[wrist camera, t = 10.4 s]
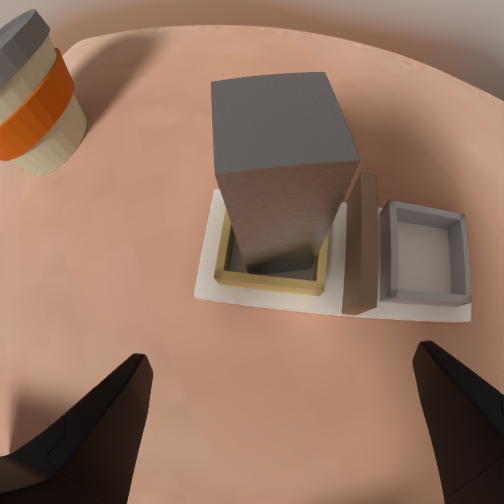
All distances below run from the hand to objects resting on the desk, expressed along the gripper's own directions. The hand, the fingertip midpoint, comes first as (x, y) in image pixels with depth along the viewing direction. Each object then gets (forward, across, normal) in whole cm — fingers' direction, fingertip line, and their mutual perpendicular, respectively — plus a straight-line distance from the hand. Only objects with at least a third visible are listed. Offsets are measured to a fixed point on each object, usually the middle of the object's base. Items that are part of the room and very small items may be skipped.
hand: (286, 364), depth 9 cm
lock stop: (+12, 0, +1) cm, 12 cm away
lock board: (+12, -5, +2) cm, 13 cm away
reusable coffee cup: (+22, +23, -7) cm, 33 cm away
